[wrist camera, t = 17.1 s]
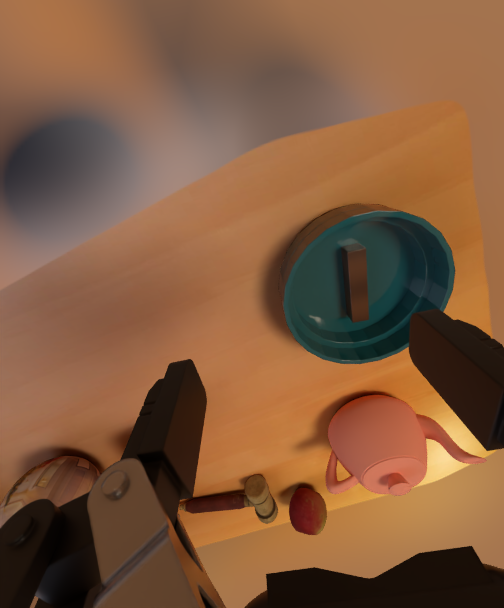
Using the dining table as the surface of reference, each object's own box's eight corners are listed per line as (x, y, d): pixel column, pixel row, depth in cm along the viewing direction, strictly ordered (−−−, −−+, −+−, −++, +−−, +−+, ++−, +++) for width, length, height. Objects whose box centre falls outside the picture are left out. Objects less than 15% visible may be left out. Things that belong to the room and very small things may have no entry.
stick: (340, 246, 34) (347, 252, 32) (358, 242, 33) (366, 247, 31) (346, 314, 38) (352, 323, 36) (362, 311, 38) (369, 319, 36)
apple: (278, 489, 59) (283, 534, 52) (310, 475, 57) (319, 519, 49) (298, 503, 62) (305, 548, 55) (328, 490, 59) (339, 535, 52)
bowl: (265, 224, 33) (268, 236, 28) (427, 185, 31) (465, 189, 26) (290, 348, 41) (297, 376, 36) (419, 323, 40) (445, 347, 34)
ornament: (29, 435, 49) (-52, 535, 36) (113, 441, 50) (66, 540, 37) (46, 483, 56) (-16, 582, 43) (120, 487, 57) (82, 584, 44)
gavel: (185, 530, 60) (167, 507, 55) (190, 507, 64) (173, 483, 59) (278, 523, 56) (266, 497, 52) (277, 498, 60) (266, 472, 56)
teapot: (421, 364, 43) (481, 431, 32) (441, 419, 50) (496, 492, 39) (297, 413, 48) (313, 486, 37) (329, 458, 54) (350, 532, 43)
